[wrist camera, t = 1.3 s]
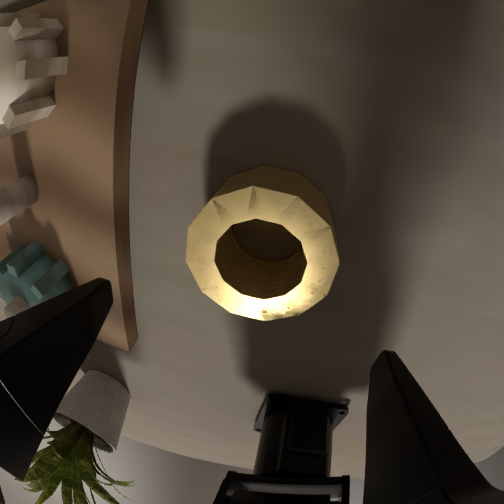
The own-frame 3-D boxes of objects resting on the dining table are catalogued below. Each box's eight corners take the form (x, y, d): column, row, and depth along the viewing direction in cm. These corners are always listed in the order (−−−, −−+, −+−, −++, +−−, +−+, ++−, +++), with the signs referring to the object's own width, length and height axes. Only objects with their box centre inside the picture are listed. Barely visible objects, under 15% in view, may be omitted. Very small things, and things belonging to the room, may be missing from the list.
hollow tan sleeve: (313, 292, 16) (311, 332, 14) (202, 264, 16) (183, 299, 14) (349, 186, 13) (358, 212, 10) (216, 154, 13) (193, 173, 11)
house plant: (128, 430, 32) (84, 530, 19) (43, 363, 28) (-21, 463, 15) (196, 419, 26) (146, 566, 12) (79, 326, 22) (-21, 480, 8)
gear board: (137, 337, 21) (104, 395, 16) (19, 287, 22) (-17, 324, 17) (151, -13, 9) (77, -43, 5) (-4, 27, 10) (-66, 35, 5)
